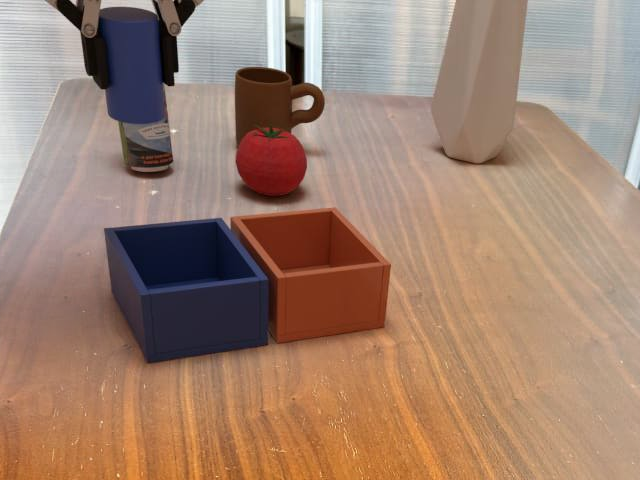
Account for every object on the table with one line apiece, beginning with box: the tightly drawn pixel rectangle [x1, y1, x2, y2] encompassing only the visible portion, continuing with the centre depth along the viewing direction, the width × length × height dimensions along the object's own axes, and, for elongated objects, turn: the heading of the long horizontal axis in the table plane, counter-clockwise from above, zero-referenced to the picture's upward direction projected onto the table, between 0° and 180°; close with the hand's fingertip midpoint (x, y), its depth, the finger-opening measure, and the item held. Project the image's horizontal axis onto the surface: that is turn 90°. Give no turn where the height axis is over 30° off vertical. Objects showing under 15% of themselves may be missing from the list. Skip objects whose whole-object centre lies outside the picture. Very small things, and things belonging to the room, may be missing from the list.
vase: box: [430, 0, 529, 165], centre depth 118 cm, size 12×12×33 cm
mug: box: [234, 66, 326, 147], centre depth 119 cm, size 12×8×9 cm, turn 87°
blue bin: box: [103, 217, 269, 364], centre depth 84 cm, size 12×14×7 cm
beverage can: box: [117, 83, 174, 173], centre depth 109 cm, size 6×7×12 cm
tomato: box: [235, 125, 308, 197], centre depth 109 cm, size 9×9×8 cm
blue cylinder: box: [97, 6, 165, 124], centre depth 77 cm, size 5×5×8 cm
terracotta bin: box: [229, 206, 392, 344], centre depth 89 cm, size 12×14×7 cm
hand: (133, 80), depth 77 cm, fingers closed on blue cylinder, 5 cm apart
